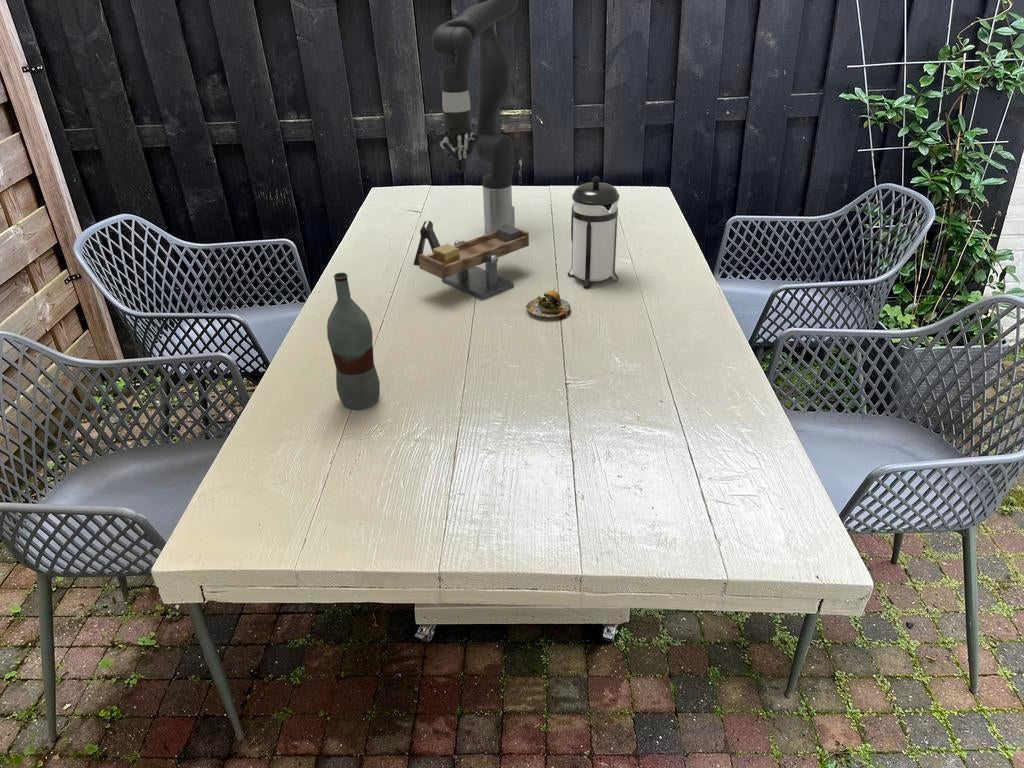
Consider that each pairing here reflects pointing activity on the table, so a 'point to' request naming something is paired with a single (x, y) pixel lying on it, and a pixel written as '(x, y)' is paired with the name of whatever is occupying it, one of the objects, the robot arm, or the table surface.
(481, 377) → the table surface
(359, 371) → the bottle
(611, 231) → the coffee press
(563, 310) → the burger
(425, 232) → the phone stand
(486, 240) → the beam
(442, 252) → the brass block
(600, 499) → the table surface
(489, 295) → the pivot stand
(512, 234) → the block
